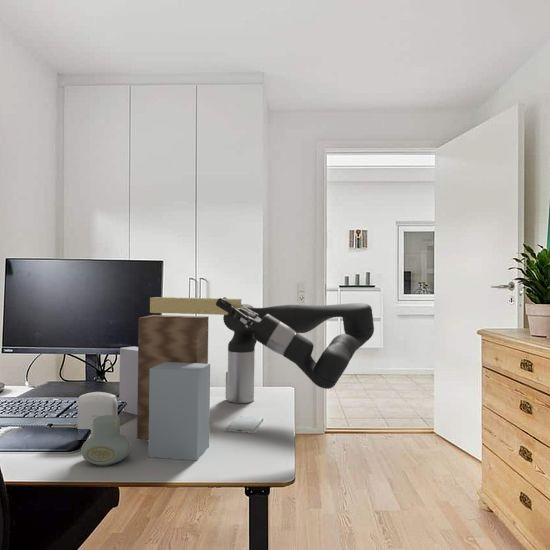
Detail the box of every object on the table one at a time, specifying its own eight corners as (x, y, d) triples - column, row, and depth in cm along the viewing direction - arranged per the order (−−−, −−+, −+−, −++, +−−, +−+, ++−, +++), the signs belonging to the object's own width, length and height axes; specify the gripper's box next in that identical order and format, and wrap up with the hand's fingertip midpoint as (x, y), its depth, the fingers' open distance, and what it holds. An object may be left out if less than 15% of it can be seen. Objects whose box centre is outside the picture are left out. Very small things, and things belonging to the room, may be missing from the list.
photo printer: (74, 442, 134) (75, 394, 134) (80, 436, 139) (81, 390, 139) (114, 442, 134) (114, 394, 134) (119, 437, 138) (120, 390, 138)
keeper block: (148, 457, 124) (149, 368, 124) (163, 443, 134) (165, 361, 134) (197, 460, 122) (198, 370, 122) (209, 446, 132) (210, 363, 132)
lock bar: (149, 312, 139) (150, 297, 139) (155, 311, 143) (155, 297, 143) (237, 315, 135) (237, 299, 135) (241, 313, 139) (241, 298, 139)
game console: (177, 427, 149) (178, 357, 149) (118, 410, 165) (119, 348, 165) (191, 422, 153) (192, 355, 153) (133, 407, 170) (134, 346, 170)
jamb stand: (136, 439, 137) (138, 317, 137) (151, 428, 146) (153, 314, 146) (195, 443, 134) (197, 319, 134) (206, 432, 144) (208, 316, 144)
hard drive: (236, 415, 158) (225, 427, 145) (263, 417, 156) (254, 429, 144) (236, 421, 158) (225, 433, 145) (263, 422, 156) (254, 435, 144)
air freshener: (134, 455, 125) (134, 413, 125) (125, 468, 117) (125, 423, 117) (88, 454, 125) (89, 413, 125) (76, 467, 117) (76, 423, 117)
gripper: (262, 350, 129) (205, 314, 131) (271, 343, 143) (219, 310, 145) (277, 325, 129) (219, 289, 131) (285, 320, 143) (233, 287, 145)
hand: (220, 300), depth 138 cm, fingers closed on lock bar, 4 cm apart
